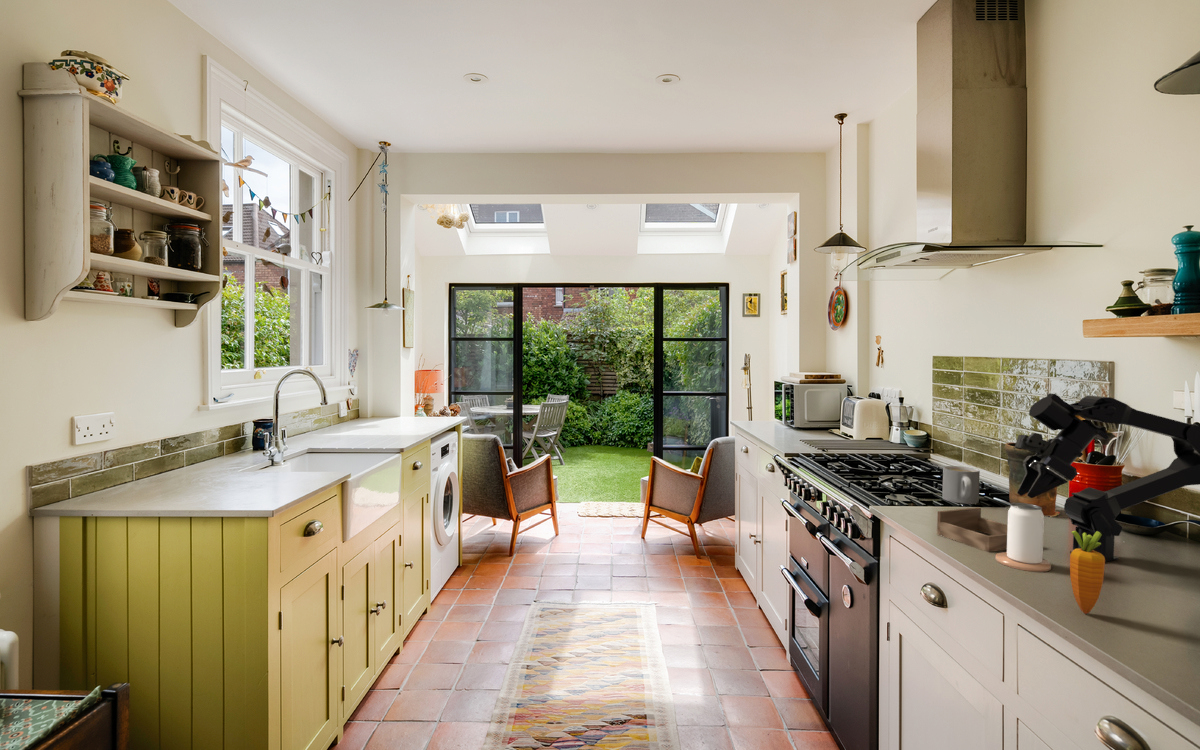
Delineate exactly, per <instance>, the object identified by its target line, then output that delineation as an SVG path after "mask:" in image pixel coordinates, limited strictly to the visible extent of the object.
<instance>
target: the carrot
mask: <svg viewBox="0 0 1200 750" xmlns="http://www.w3.org/2000/svg"><path fill="white" fill-rule="evenodd" d="M1071 534H1072V536H1073V535H1074V536H1075V538H1076V540H1077V542H1078V543H1079V545H1080V547H1081V549H1075V550H1073V549H1072V550H1071V551H1072V552H1071V554H1070V555H1069V573H1070V574H1069V575H1070V577H1069V578H1070V583H1071V588H1072V593H1073V596H1074V598H1075V601H1076V604H1077V605H1078V607H1079V609H1080V611H1081V612H1082V613H1083V614H1085V615H1087V614H1089V613H1090V612H1091V610H1093V609H1094V607H1095V605H1096V603H1097V602H1098V600H1099V598H1100V594H1101V591H1102V587H1103V584H1104V578H1105V577H1104V576H1105V569H1106V567H1105V566H1106V562H1105V558H1104V556H1103V555H1102V554H1101V553H1099V552H1096V551H1094V550H1093V549H1095V548H1096V547H1098V546H1099V545H1101V543H1099V542H1097V541H1098V540H1099V539H1100V537H1101V535H1102V534H1101V533H1100V532H1098V531H1096V532H1095V534H1094V535H1093V537H1092V536H1091V535H1087V534H1086V533H1083V542H1082V539H1081V537H1080V535H1079V534H1078V533H1077V532H1076V531H1075V530H1072V531H1071ZM1091 538H1092V539H1091ZM1090 539H1091V540H1090Z"/></svg>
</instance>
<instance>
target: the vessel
mask: <svg viewBox="0 0 1200 750" xmlns="http://www.w3.org/2000/svg"><path fill="white" fill-rule="evenodd" d="M1015 445H1016V442H1013V441H1012V442H1011V441H1010V442H1006V443H1005V445H1004V450H1005V453H1006V454H1007V461H1006V462H1007V465H1008V468H1009V474H1008V489H1009V492H1008V493H1009V495H1008V496H1009V498H1008V499H1009V505H1008V506H1005V507H1004V508H1005V509H1010V507H1011V503H1026V504H1032V505H1036V506H1039V507H1041V508H1042V509H1041V511H1042V513H1043V515H1044V516H1050V517H1049V518H1052V517H1057V516H1058V515H1060V511H1058V510H1057V511H1056V506H1057V505H1056V503H1057V497H1058V495H1057V494H1058V487H1056V488H1053V489H1051V490H1049V491H1047V492H1044V493H1042V494H1040V495H1038V496H1036V497H1034V498H1030V497H1028V496H1027V494H1028V493H1026V494H1024V495H1022V496H1021V495H1019V494H1018V493H1017V491H1018V489H1019V487H1020V485H1021V482H1022V480H1023V478H1024V476H1025V469H1024V466H1023V464H1024V463H1023V461H1024V460H1025V459H1026V457H1027V456H1036V455H1035V454H1036V453H1035V452H1031V451H1028V450H1024V449H1017V448H1015Z"/></svg>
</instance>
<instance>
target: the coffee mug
mask: <svg viewBox="0 0 1200 750" xmlns="http://www.w3.org/2000/svg"><path fill="white" fill-rule="evenodd" d="M980 475H981V473H980V470H979V469H977V468H974V467H971V466H970V467H969V466H961V465H946V466H945V465H944V466H943V468H942V496H941V497H942V499H943V500H944V501H948V502H952V503H957V504H958V503H959V504H968V505H969V504H971V505H975V504H979V502H980V501H979V500H980Z"/></svg>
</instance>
